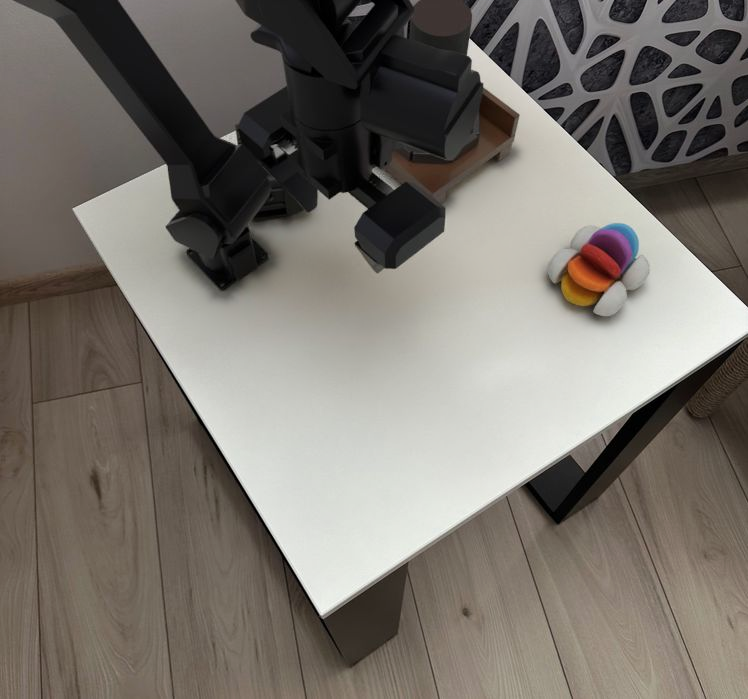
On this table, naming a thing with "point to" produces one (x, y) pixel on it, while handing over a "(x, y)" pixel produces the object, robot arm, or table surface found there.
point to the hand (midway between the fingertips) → (345, 238)
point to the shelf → (482, 144)
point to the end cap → (275, 199)
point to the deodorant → (442, 24)
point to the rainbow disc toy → (600, 267)
